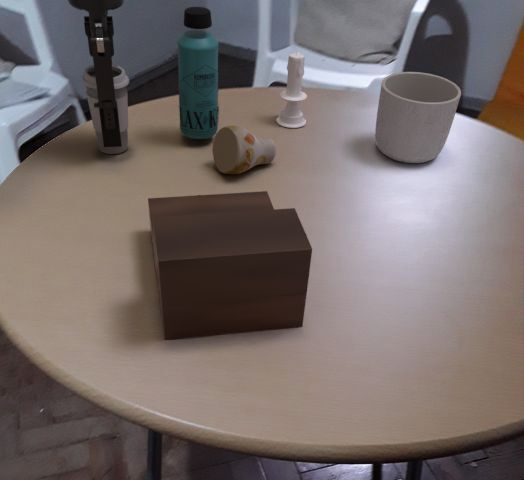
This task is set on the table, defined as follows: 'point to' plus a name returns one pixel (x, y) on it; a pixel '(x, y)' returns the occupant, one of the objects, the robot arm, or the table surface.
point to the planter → (415, 115)
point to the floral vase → (240, 150)
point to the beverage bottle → (198, 76)
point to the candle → (293, 93)
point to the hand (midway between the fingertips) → (112, 136)
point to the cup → (122, 104)
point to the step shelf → (228, 264)
